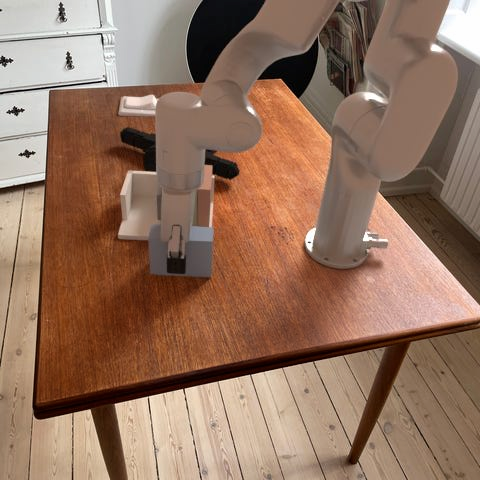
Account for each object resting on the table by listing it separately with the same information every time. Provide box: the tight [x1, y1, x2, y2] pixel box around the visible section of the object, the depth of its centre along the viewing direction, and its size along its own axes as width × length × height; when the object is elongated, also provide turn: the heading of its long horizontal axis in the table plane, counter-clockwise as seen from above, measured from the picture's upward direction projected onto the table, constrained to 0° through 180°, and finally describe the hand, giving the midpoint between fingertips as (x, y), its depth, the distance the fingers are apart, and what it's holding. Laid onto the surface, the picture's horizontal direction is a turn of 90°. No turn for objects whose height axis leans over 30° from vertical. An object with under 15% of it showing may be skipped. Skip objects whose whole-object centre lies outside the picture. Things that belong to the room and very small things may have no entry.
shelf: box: [117, 165, 215, 241], centre depth 99 cm, size 18×14×10 cm
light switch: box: [117, 94, 159, 117], centre depth 142 cm, size 11×4×13 cm
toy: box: [119, 126, 241, 181], centre depth 121 cm, size 33×8×30 cm
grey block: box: [147, 224, 215, 278], centre depth 89 cm, size 4×11×8 cm, turn 90°
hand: (178, 254), depth 89 cm, fingers open, 9 cm apart
